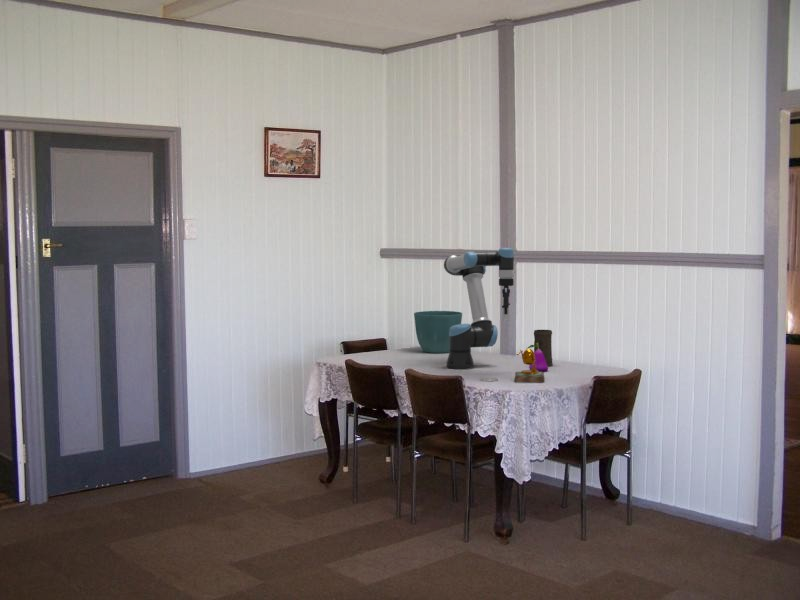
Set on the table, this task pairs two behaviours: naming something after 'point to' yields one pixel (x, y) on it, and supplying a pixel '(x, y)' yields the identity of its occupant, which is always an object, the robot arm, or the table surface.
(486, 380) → the coaster
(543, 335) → the beer stein
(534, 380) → the podium
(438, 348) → the flower pot
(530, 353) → the figurine
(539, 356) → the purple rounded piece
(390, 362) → the table surface
